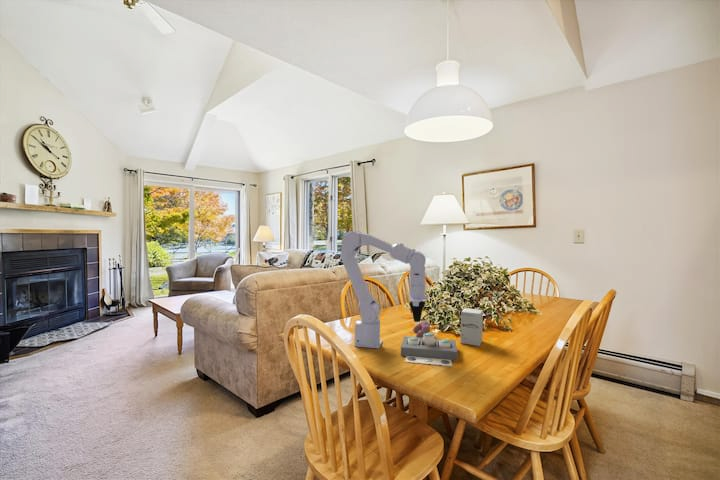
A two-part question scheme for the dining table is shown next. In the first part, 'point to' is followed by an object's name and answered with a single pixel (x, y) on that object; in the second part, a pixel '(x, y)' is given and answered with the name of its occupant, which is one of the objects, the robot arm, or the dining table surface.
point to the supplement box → (471, 326)
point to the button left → (413, 341)
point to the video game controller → (422, 328)
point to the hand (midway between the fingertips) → (417, 321)
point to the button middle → (428, 339)
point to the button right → (444, 343)
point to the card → (428, 361)
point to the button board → (429, 350)
